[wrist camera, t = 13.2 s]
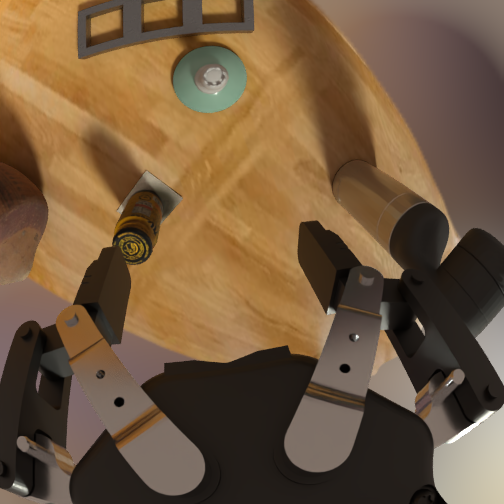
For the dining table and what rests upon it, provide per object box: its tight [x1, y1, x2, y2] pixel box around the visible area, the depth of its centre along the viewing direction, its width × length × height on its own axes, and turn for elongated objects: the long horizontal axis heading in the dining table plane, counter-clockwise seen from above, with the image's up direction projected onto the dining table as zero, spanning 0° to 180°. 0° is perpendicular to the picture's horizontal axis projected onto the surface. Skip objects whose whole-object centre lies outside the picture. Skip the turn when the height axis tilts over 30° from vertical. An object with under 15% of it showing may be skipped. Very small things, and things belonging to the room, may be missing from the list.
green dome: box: [173, 46, 247, 113], centre depth 32 cm, size 10×10×1 cm
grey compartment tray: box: [78, 0, 254, 59], centre depth 24 cm, size 24×8×2 cm, turn 91°
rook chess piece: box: [194, 64, 229, 94], centre depth 28 cm, size 4×4×8 cm
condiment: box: [112, 171, 183, 265], centre depth 36 cm, size 7×8×12 cm
